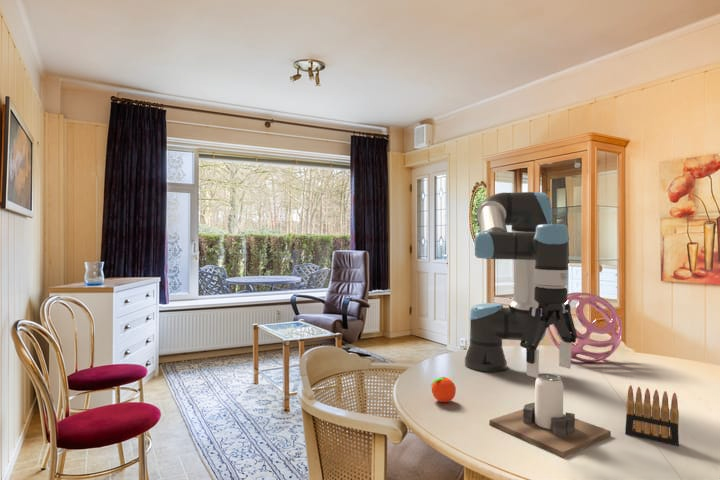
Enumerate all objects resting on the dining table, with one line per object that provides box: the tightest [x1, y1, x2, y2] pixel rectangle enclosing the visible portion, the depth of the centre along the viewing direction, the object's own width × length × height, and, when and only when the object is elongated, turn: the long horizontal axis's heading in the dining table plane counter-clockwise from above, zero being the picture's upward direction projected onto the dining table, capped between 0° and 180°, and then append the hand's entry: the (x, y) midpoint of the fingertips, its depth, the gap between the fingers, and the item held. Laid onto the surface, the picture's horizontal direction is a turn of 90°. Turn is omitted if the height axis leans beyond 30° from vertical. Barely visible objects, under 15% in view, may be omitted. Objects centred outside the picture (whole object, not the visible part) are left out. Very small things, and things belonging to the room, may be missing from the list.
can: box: [534, 373, 564, 430], centre depth 110 cm, size 6×6×12 cm
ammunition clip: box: [624, 384, 680, 447], centre depth 106 cm, size 11×2×12 cm, turn 56°
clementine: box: [430, 376, 457, 403], centre depth 128 cm, size 8×7×7 cm
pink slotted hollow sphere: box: [546, 291, 623, 363], centre depth 178 cm, size 28×28×27 cm
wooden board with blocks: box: [488, 402, 612, 458], centre depth 109 cm, size 20×20×5 cm
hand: (549, 371), depth 110 cm, fingers open, 13 cm apart
